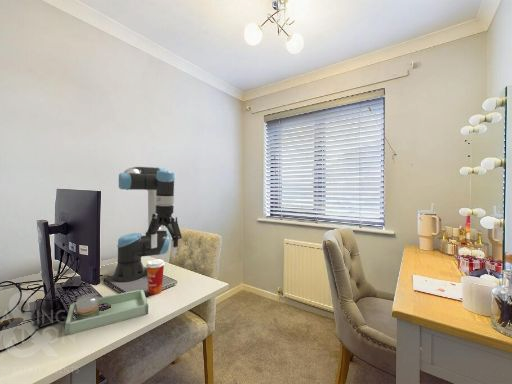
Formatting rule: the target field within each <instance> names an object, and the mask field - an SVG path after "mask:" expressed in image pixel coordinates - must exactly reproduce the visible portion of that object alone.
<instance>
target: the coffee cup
mask: <svg viewBox="0 0 512 384" xmlns="http://www.w3.org/2000/svg"><path fill="white" fill-rule="evenodd" d="M164 270H165V262H164V260H163V259H160V258H158V259H157V258H156V259H151V260H148V261H147V263H146V275H147V291H149V293H150V294H149V293H148V294H149V295H152V296H153V295H158V294H161V292H162V290H163V283H164V282H163V280H164Z"/></svg>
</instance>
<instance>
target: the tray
mask: <svg viewBox="0 0 512 384" xmlns="http://www.w3.org/2000/svg"><path fill="white" fill-rule="evenodd" d="M103 303H108V304H110V305H111V308H109V309H107V310H104V311H99V316H95V317H90V318H86V319H82V320H78V321H77V318H76V319H73V312H74V309H77V301H76V302H72V303H70V306H69V309H68V313H67V317H66V321H65V324H64V330H65V331H64V333H65V336H67V335H71V334H72V335H73V334H76V333H79V332H83V331H84V332H85V331H87V330H91V329H95V328H98V327H103V326H106V325H110V324H115V323H118V322H122V321H126V320H129V319H132V318H138V317H141V316H142V317H143V316H144V315H148V314H149V302H148V300H147V297H146V294H145V290H144V288H142V289H136V290H130V291H126V292H122V293H121V292H120V293H117V294H110V295H106V296H102V297H101V296H100V297H99V304H103Z"/></svg>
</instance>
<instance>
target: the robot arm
mask: <svg viewBox="0 0 512 384" xmlns="http://www.w3.org/2000/svg"><path fill="white" fill-rule="evenodd" d="M175 179H176V178H175V173H174V171H172V170H166V169H165V168H162V167H152V166H151V167H149V166H133V167H129V168H127V169H126V170H124V171H123V172H121V173H119V174H118V188H119V189H120V190H126V191H128V190H133V191H137V190H139V191H141V190H144V191H147V214H148V215H147V217H148V218H147V223H148V224H147V225H148V226H147V227H148V229H147V230H146V231H145V235H143V234H142V233H139V232H133V233H128V234H125V235H122V236H120V237H119V238H118V240H117V246H116V247H117V265H116V267H115V270H114V273H113V280H114V279H115V280H114V281H116V280H118V281H117V282H121V281H125V282H132V281H135V279H136V280H139V279H140V277H141V278H143V277H144V276H143V275H145V267H144V265H143V263H142V257H149V256H151V257H152V256H159V255H165V254H167V253H168V251H169V248H170V255H173V256H174V255H176V254H178V246H179V240H181V239H182V238H183V237H182V236H183V235H182V233H181V229H180V226H179V224H178V217H177V216H173V215H172V214H174V208H175V207H174V204H175V194H174V193H175ZM165 228H166V229H167V230H168V232H167V230H166V229H165ZM170 236H171V237H170ZM171 238H172V239H171ZM142 276H143V277H142ZM138 278H139V279H138ZM131 280H132V281H131Z"/></svg>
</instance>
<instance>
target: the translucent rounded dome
mask: <svg viewBox="0 0 512 384" xmlns="http://www.w3.org/2000/svg"><path fill="white" fill-rule="evenodd" d="M99 298H100V294H99V293H97V292H95V293H93V292H92V293H91V292H90V293H86V294H83V295H81V296H79V297H77V299H76V302H77V321H78V320H82V319H86V318H90V317H95V316H99Z"/></svg>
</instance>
